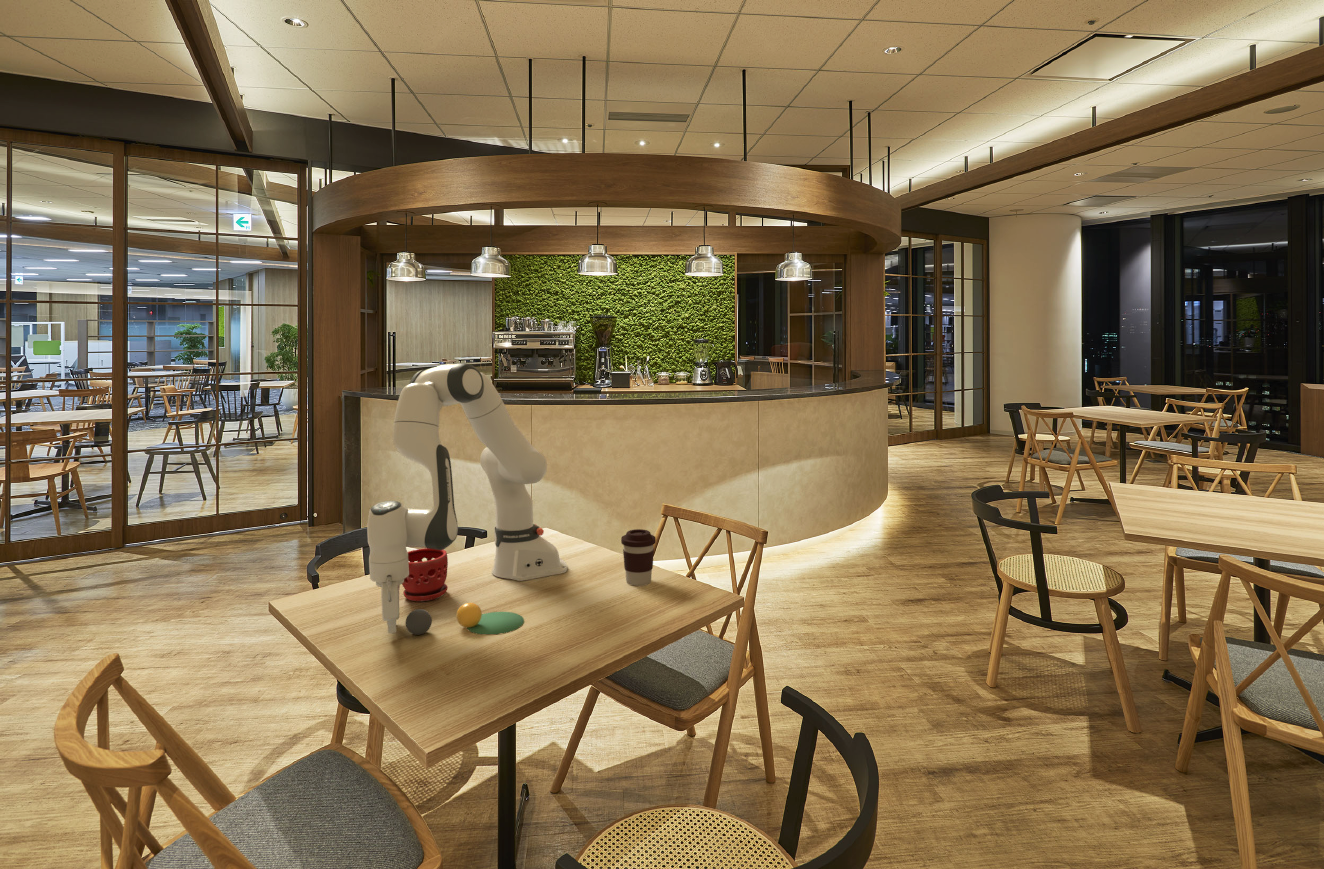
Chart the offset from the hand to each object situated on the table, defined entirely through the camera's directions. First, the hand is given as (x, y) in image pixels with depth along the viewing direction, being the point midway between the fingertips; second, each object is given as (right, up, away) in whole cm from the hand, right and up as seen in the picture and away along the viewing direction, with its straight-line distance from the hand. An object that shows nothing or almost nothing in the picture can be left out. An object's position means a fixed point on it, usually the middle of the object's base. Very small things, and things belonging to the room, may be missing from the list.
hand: (392, 624), depth 172 cm
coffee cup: (+59, +3, +34) cm, 68 cm away
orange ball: (+18, +2, +2) cm, 18 cm away
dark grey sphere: (+7, +1, -2) cm, 7 cm away
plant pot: (0, +1, +23) cm, 23 cm away
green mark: (+24, -1, +5) cm, 24 cm away
